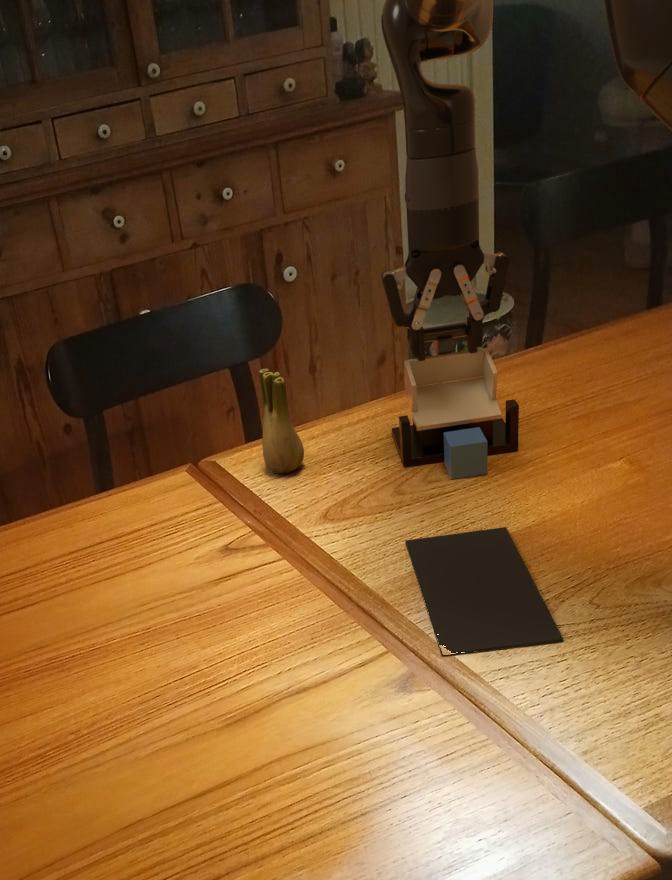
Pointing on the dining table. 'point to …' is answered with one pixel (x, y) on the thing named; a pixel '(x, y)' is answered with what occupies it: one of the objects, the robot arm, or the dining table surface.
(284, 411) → the fennel bulb
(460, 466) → the block
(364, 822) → the dining table surface
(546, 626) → the mat
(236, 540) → the dining table surface
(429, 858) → the dining table surface
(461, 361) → the open storage bin
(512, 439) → the stand
